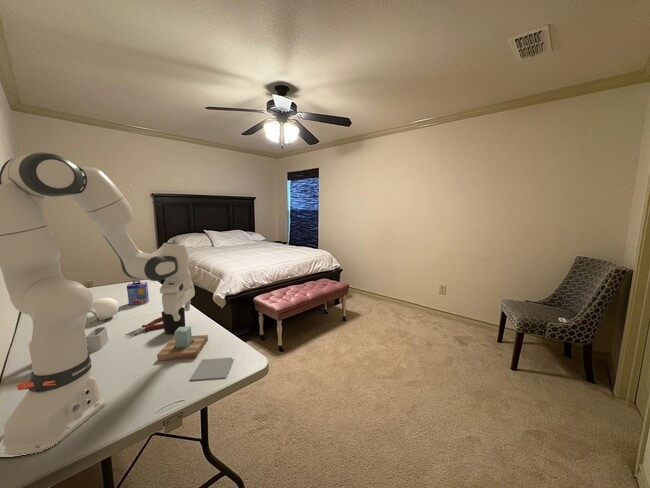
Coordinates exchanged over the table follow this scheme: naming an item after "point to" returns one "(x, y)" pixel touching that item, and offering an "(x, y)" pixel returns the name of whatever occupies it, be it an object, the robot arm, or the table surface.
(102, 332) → the phone holder
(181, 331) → the square plug
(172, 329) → the pen holder
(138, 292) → the ink cartridge box
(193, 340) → the plug dock
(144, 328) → the pliers
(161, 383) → the table surface
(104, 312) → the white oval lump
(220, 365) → the rubber mat
